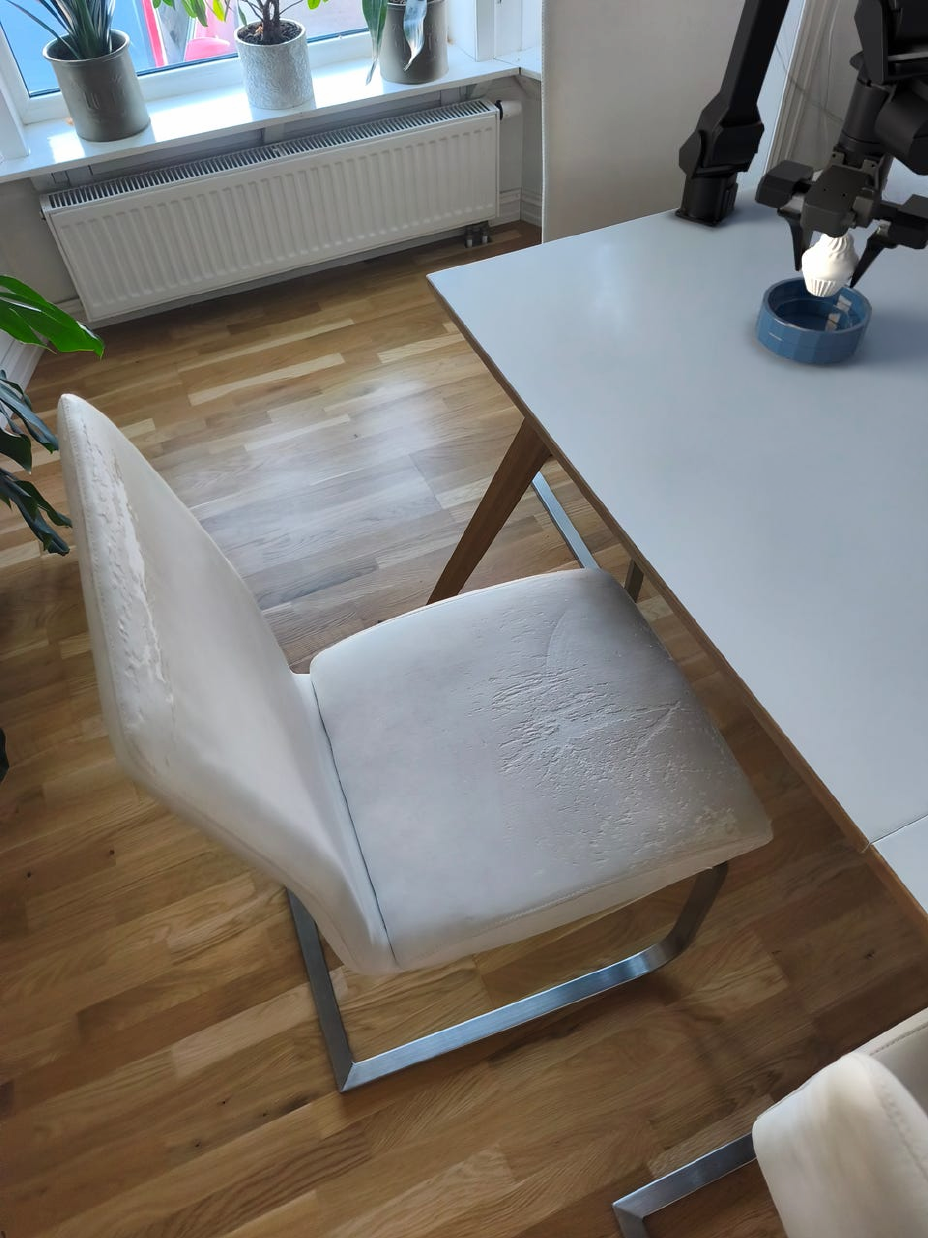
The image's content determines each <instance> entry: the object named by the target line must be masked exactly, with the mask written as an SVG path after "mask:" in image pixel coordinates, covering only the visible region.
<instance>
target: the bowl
mask: <svg viewBox="0 0 928 1238" xmlns="http://www.w3.org/2000/svg"><path fill="white" fill-rule="evenodd" d="M872 313H873V307H872V305H871V303H870V301H869V299H868V298H867V297H866V296H865V295H864V294H863V293H861V291H859V290H858V289H856V288H855V287H853V288H849V285H848V284H847V283H846V284H845V285H844V286H843V287H842V288H841V289H840V290H839V291H838V292H836V293H835V294H834V295H832V296H829V297H821V296H820V297H819V296H816V295H814V294H812V293H810V292H809V291H808V290H807V286H806V282H805V278H804V276H796V277H792V278H787V279H786V278H785V279H782V280H780V281H778V282H775V283H773V284H772V285H770V286H769V287H768V288H767V289H766V290H765V291H764V293H763V296H762V300H761V304H760V308H759V312H758V315H757V319H756V323H755V327H754V331H755V335H756V338H757V340H758V341H759V342H760V343H761V345H763V346H764V347H765V349H768V350H769V351H770V352H772V353H774V354H776V355H777V356H780V357H783V358H785V359H788V360H790V361H794V362H799V363H806V364H831V363H836V362H841V361H844V360H846V359H847V358H849V357H851V356H853V355H855V354H856V352H857V351H858V350H859V349H860V348H861V345H862V342H863V340H864V338H865V335H866V332H867V330H868V327H869V324H870V322H871V319H872Z"/></svg>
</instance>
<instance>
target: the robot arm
mask: <svg viewBox="0 0 928 1238" xmlns="http://www.w3.org/2000/svg"><path fill="white" fill-rule="evenodd" d="M790 1H791V0H744V4H743V7H742V10H741V14H740V18H739V20H738V21H739V22H738V25H737V29H736V32H735V35H734V40H733V43H732V46H731V50H730V54H729V57H728V61H727V65H726V68H725V72H724V74H723V78H722V82H721V86H720V89H719V91H718V92H717V93H716V95H715V96H713V98H712V99H711V100H710V101H709V102H708V103H707V104H706V106H704V108H703V109H701V112H700V114H699V118H698V120H697V123H696V125H695V128H694V131H693V132H692V133H691V134H690V136H689V137H688V138H687V139H686V140H685V141H684V142H683V144H682V145H681V146H680V147H679V148H678V167H679V168H680V170H681V171H682V172H683V173H684V174H685V180H684V187H683V192H682V199H681V205H680V207H679V208H678V209H676V210H675V211H674V216H675V217H678V218H680V219H684V220H688V221H690V222H694V223H697V224H699V225H700V224H701V225H704V226H707V227H710V228H716V227H717V226H718V225H720V224H721V223H722V222H723V221H724V220H725V219H727V217H729V216H730V215H731V214H733V213H734V212H735V209H736V207H735V203H736V200H737V199H736V198H737V195H738V190H739V183H738V182H737V178H738V174H739V173H749V170H750V168H751V166H752V163H753V161H754V158H755V156H756V155H757V154H758V153H759V148H760V147H759V146H760V144H761V140H762V137H763V135H764V133H765V130H766V127H765V124H764V122H763V121H762V118H761V114H760V110H759V106H758V101H759V97H760V94H761V92H762V88H763V85H764V82H765V79H766V76H767V73H768V70H769V67H770V63H771V61H772V57H773V54H774V51H775V48H776V46H777V42H778V39H779V36H780V32H781V29H782V27H783V23H784V20H785V17H786V14H787V12H788V7H789V5H790ZM853 20H854V24H855V28H856V31H857V34H858V39H859V42H860V46H861V50H860V51H858V52H856V53H855V54H854V55H852V56H851V57H850V59H849V65H850V66H851V67H852V68H854V69H855V70H856V71H858V73H857V76H856V78H855V83H854V86H853V90H852V92H851V96H850V99H849V103H848V107H847V110H846V113H845V116H844V119H843V123H842V127H841V130H840V134H839V136H838V140H837V142H836V144H834V145H833V148H832V151H831V153H830V155H829V159H828V161H827V162H826V164H825V165H824V167H823V168H822V170H821V172H820V173H819V175H818V177H817V178H816V180H813V179H814V174H815V169H814V166H810V165H807V164H804V163H801V162H800V163H799V162H797V161H792V160H788V159H782V160H781V161H780V162H779V163H777V164H776V165H774V166H773V167H772V168H771V169H770V170H768V171H767V172H766V173H765V174H764V175H763V176H761V177H760V180H759V182H758V183H757V186H756V191H755V195H754V201H755V203H756V204H758V205H762V206H766V207H769V208H772V209H776V215H777V217H780V218H783V219H784V221H786V223H787V224H788V226H789V229H790V233H791V239H792V250H793V260H794V261H793V262H794V270H795V271H796V272H800V271H801V270H802V266H803V265H802V257H803V254H804V253H805V251H806V250H807V249H809V248H810V247H811V243H812V239H813V235H814V232H817V233H821V234H822V235H823V234H826V235H827V236H828V237H831V238H840V237H842V236H844V235H845V234H846V233H847V232H849V229H852V230H856V229H857V228H863V229H868V228H869V227H870V226H871V224H872V223H873V221H878V224H877V228H876V229H875V230H874V231H873V232H872V233H871V234H870V235H869V237H868V238H867V239H866V245H865V248H864V250H863V253H862V254H861V257H860V261H859V263H858V265H857V267H856V269H855V272H854V274H853V275H852V277H851V279H850V282H849V285H848V286H849V288H855V286H856V285H857V284H858V283H859V281H860V280H861V279H862V277H863V276H864V275H865V273H866V272H867V271H868V270H869V268H870V267H871V266H872V264H873V263H874V262H875V261H876V259H877V258H878V256H879V255H880V254H881V253H882V252H883V251H884V249H888V250H894V249H896V248H898V247H899V246H902V247H905V248H909V249H912V250H917V251H920V250H925V249H926V247H927V246H928V197H927V196H923V195H920V194H916V193H912V194H911V196H909V197H908V198H907V200H906V201H905V202H904V203H903V202H893V201H889V200H886V199H883V195H882V194H883V191H884V190H885V189H886V187H887V184H888V182H889V179H888V177H889V174H890V172H891V169H892V166H893V162H894V160H895V159H896V160H897V161H898V162H899V163H901V164H902V165H903V166H904V167H905V168H907V169H908V170H909V171H910V172H912V173H913V174H915V175H917V176H921V177H928V56H919V57H911V58H904V59H902V58H901V57H900V56H903V55H910V54H911V55H912V54H920V53H928V0H858V1H857V5H856V8H855V11H854V15H853Z"/></svg>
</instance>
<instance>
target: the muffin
mask: <svg viewBox="0 0 928 1238" xmlns="http://www.w3.org/2000/svg"><path fill="white" fill-rule="evenodd" d="M854 243H855V239H854V236H853V235H852V234H851V232H849V231H847V233H846V234H845V235H844V236H842V237H840V238H831V237H828V236H827V235H826V234H823V233H822V234H821V236H820V239H819V240H818V241H816V242H815V243H814V244H813V245H812V246H810V247H809V249H807V250H806V251H805V253H804V254H803V257H802V265H803V266H802V269H801V270H802V274H803V277H804V278H805V282H806V286H807V290H808V291H809V292H810V293H812V294H814V295H816V296H819V297H820V296H821V297H829V296H832V295H834V294H835V293H836V292H838V291H839V290H840V289H841V288H842V287H843V286H844V285H845V284H846V285H847V283H848V282H849V281H851V279H852V276H853V274H854V272H855V269H856V267H857V265H858V263H859V261H860V259H861V257H860V256H859V254H858V253H857V251H856V248H855V246H854Z"/></svg>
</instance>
